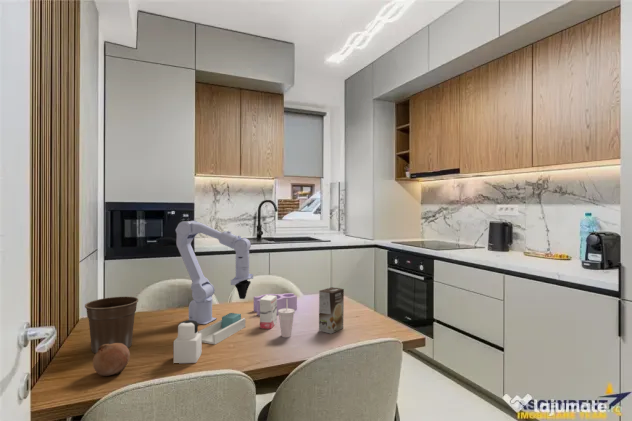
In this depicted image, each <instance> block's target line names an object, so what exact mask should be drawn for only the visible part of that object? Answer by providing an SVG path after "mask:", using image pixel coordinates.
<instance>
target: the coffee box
mask: <svg viewBox="0 0 632 421" xmlns="http://www.w3.org/2000/svg"><path fill="white" fill-rule="evenodd" d="M344 289H345V288H340V287H328V288H325V289H321V290H319V291H318V293H319V294H318V331H319V332H323V333H327V334H331V335H332V334H334V333H336V332H338V331H340V330H342V329H344V315H345V314H344V311H345V310H344V309H345V308H344V295H345V294H344V292H345V291H344Z"/></svg>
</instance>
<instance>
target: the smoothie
mask: <svg viewBox="0 0 632 421" xmlns="http://www.w3.org/2000/svg"><path fill="white" fill-rule="evenodd" d="M295 313H296V312H295V311H294V310H293V309H290V308H288V299H286V308H284V309H280V310H278V314H277V315H278V316H279V317H278V318H279V326H280V333H281V334H280V336H281V337H283V338H291V337H292V333H293V332H292V331H293V322H294V316H295V315H294V314H295Z"/></svg>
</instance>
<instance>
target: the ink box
mask: <svg viewBox="0 0 632 421" xmlns="http://www.w3.org/2000/svg"><path fill="white" fill-rule="evenodd" d="M264 295H265V294H264ZM277 322H278V314H277V296H273V295H265V296H264V297H263V298H261V299H260V315H259V329H264V330H265V329H267V330H269V329H270V330H271V329H272V328H273V327H274V326H275V325H277Z"/></svg>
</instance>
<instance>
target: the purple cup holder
mask: <svg viewBox="0 0 632 421" xmlns="http://www.w3.org/2000/svg"><path fill="white" fill-rule="evenodd" d="M265 295H273V296H277V315H279V314H278V310H280V309H284V308H286V299H288V308H290V309H293V310H294V311H297V310H298V296H297V294H296V295H295V293H293V292H289V293H288V292H287V293H277V294H276V293H266V294H259V295H258V296H253V312H255V313H256V316H260V299H261V298H263V297H264V296H265Z"/></svg>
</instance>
